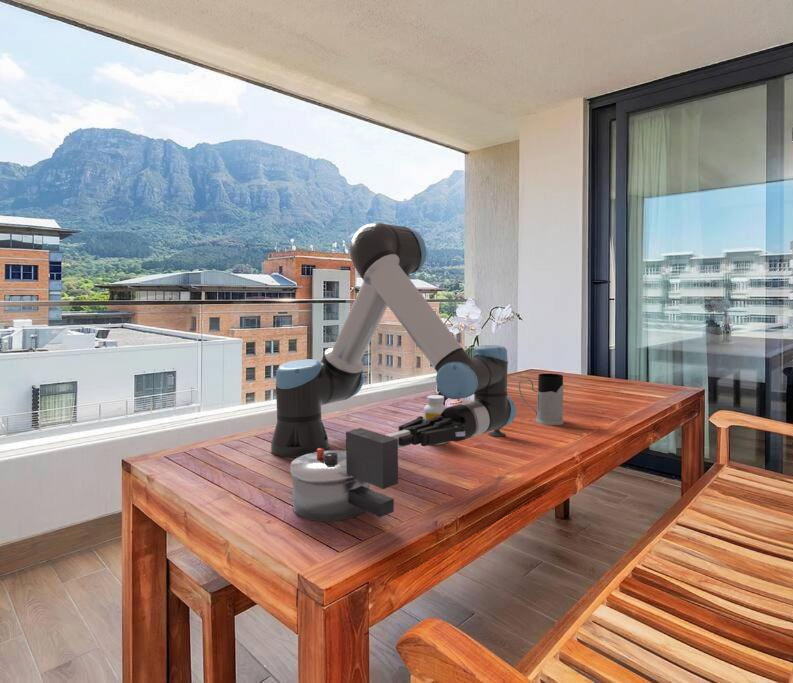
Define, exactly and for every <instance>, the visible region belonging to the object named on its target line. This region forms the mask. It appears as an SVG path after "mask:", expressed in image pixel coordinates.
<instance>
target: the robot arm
mask: <svg viewBox="0 0 793 683" xmlns="http://www.w3.org/2000/svg"><path fill="white" fill-rule="evenodd" d="M349 245H350V246H349V254H350V258H351V262H352V265H353V267H354V269H355V271H356V272H357V273H358V275H359V277H360V278H361V279H362V281H363V282H362V284H361V286H360V288H359V291H358V293H357V295H356V297H355V299H354V301H353V304H352V306H351V308H350V310H349V312H348V314H347V317H346V319H345V321H344V323H343V325H342V326H341V327H342V328H341V329H340V331H339V334H338V336H337V338H336V340H335V343H334V344H333V347H329V348H326V350H324V353H323V356H322V358H321V360H320V361H318V360H317V359H310V358H308V359H306V358H305V359H298V360H297V359H296V360H290V361H288V362H285V363H282V364H280V365H279V366H278V367H277V369H276V371H275V381H274V385H275V395H276V399H275V400H276V426H275V428H274V431H273V434H272V439H271V443H270V448H271V449H270V450H271V453H272V452H273V454H274V455H276V456H279V457H284V458H287V457H288V458H298V457H300V456H303V455H306V454H310V453H314V452H317V448H324V451H328V449H329V445H330V444H329V436H328V435H327V430H326V428H325V426H324V423H323V421H322V406H323V405H328V404H331V403H336V402H341V401H345V400H348V399H350V398H352V397H354V396H356V395H357V394H358V393H359V392H360V391H361V389H362V387H363V384H364V381H365V380H364V379H365V376H364V375H363V374H364V364H363V362H362V360H363V358H364V355H365V352H366V351H367V350H368V347H369V345H370V342H371V341H372V339H373V337H374V335H375V333H376V331H377V329H378V327H379V325H380V323H381V321H382V319H383V316H384V315H385V312H386V310H387V309H388V308H389V309H390V310H391V312H392V313H393V315H394V316H395V317H396V319H397V320H398V322H399V323H400V325H401V326H402V327H403V328H404V330H405V331H406V333H407V334H408V335H409V336H410V338H411V339H412V340H413V342H414V343H415V344H416V346H417V347H418V348H419V350H420V351H421V352H422V354H423V355H424V357H425V358H426V359H427V360H428V363H430V365H431V366H432V367H433V369H434V370H435V372H436V376H435V377H436V378H435V382H436V386H437V389H438V391H439V393H440V394H441V395H442V396H444V398H447V399H450V400H459V399H467V398H468V397H471V396H473V399H474V400H471V401H467V402H466V401H465V402H462V403H459V404H455V405H451V406H446V407H447V408H446V409H445V410H444V411H443V412H442V414H441V415H440V416H436V417H434V418H432V419H429V420H425V418H424V416H418V417H416V419H413V420H410V421H409V422H406V423H404V424H401V425H399V426H398V431H394V432H392V433H391V432H390V433H387V434H385V435H386V436H390V437H393V438H397V439H398V449H401V448H403V447H406V446H411V445H414V446H417V445H420V446H422V447H427V446H433V445H434V444H439V443H444V442H446V443H448V442H456V443H457V442H462V441H465V440H468V439H474V437H477V436H479V435H482V434H485V433H490V432H493V431H494V430H497V429H499V430H500V429H502V428H504V427H507V426H508V425H510V424H512V423H513V421H514V420H515V418H516V416H517V407H516V405H515V403H514V400H513V399H512V398H510V397H511V396H508V367H509V366H508V365H509V360H508V350H507V348H506V347H505V346H502V345H494V344H493V345H492V344H489V345H488V344H487V345H486V344H483V345H477V346H476V347H474V350H473V357H471V356H470V355H469V353H467V351H466V350H465V349H464V348H463V346H462V345H461V344H460V343H459V342H458V339H457V338H456V337H455V336H454V335H453V333H452V332H451V331H450V330H449V328H448V327H447V326H446V324H445V323H444V322H443V320H442V319H441V318H440V317H439V316H438V314H437V313H436V311H435V310H434V309H433V307H432V306H431V305H430V303H429V302H428V300H427V299H425V297H424V296H423V295H422V293H421V291H419V289H418V288H417V286H416V285H415V284H414V283H413V281H412V280H411V279H410V278H409V277H410V276H411V275H412V274H415V273H416V272H419V271H420V270H421V269H422V268H423V266H424V264H425V262H426V260H427V247H426V243H425V240H424V238H423V236H422V235H421V234H420V233H419V232H418V231H416V230H415V229H412V228H410V227H407V226H404V225H394V224H388V223H384V222H383V223H382V222H370V223H367V224H364V225H362V226H361V227H359V228H358V229H357V230H356V231H355V232H354V234H353V235H352V238H351V241H350V244H349ZM434 446H435V445H434Z"/></svg>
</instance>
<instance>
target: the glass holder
mask: <svg viewBox="0 0 793 683" xmlns="http://www.w3.org/2000/svg"><path fill="white" fill-rule="evenodd" d="M537 379H538V382H537V383H538V384H537V385H538V386H537V387H538V389H537V390H536V389H535V390H534V384H533V383H534V382H533V380H531V379H530V378H527V377H524V378H521V379H520V381H519V384H518V390H519V391H518V392H519V394H520V397H521V399H522V401H523V402H524V403H525V404H526V405H527V406H528V407H530V408H531V409H532V411H534V412H535V415H536V419H535V423H537V424H540V425H545V426H546V425H547V426H561V425H563V424H564V423H565V421H564V418H563V415H564V375H563V374H559V373H539V374H538V378H537ZM523 380H528V381H529V382H530V383H531V390H532V392H535V393H537V397H536V398H537V407H536V408H537V409H535V408H534V407H533V406H532V405H531V404H529V403H528V401H526V399H525V397H523V394H522V391H521V382H522V381H523Z"/></svg>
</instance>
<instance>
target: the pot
mask: <svg viewBox="0 0 793 683" xmlns="http://www.w3.org/2000/svg"><path fill="white" fill-rule="evenodd" d="M291 478H292V479H291V482H292V484H291V485H292V510H293V512H294V513H295V514H296V515H297V516H299V517H300V518H302V519H306V520H310V521H313V522H340V521H344V520H345V521H346V520H348V519H349V520H350V519H352V518H355V517H358V516H360V515H362V514H363V513H365V512H368V513H370V514H372V515H373V516H377V517H379V518H382V517H385V516H388V515H390V514H393V513H394V512H395V504H394V502H395V501H394V500H395V499H394V498H393V497H390V496H388V495H386V494H384V493H380V492H378V491H376V490H373V489H371V488H370V484H369V483H367V482H364V481H362V480H359V479H354V480H351V481H346V482H340V483H327V484H322V483H310V482H305V481H301V480H298V479H296V478H294V477H293V476H292V475H291Z"/></svg>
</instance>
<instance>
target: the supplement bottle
mask: <svg viewBox="0 0 793 683" xmlns="http://www.w3.org/2000/svg"><path fill="white" fill-rule="evenodd" d="M444 403H445V396H444V395H439V394H432V395H427V404H426V405H425V406H424V407H423V418H425V420H429V419H432V418H434V417H436V416H440V415H441V414H442V412H443V411H444V410H445V409H446V408H447V407H448V406H447V405H445V404H444ZM446 443H447V442H444V443H439V444H434V446H436V445H437V446H439V445H440V446H441V445H444V444H446Z"/></svg>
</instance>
